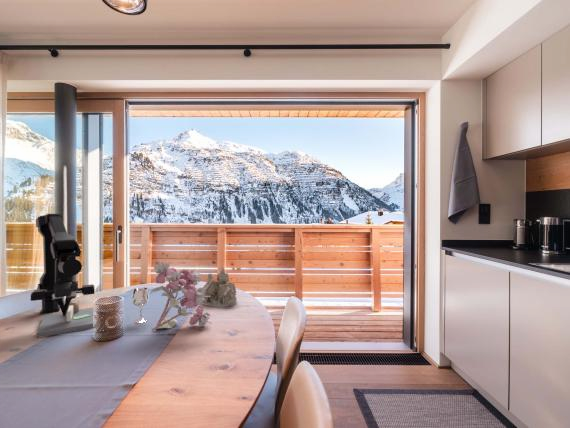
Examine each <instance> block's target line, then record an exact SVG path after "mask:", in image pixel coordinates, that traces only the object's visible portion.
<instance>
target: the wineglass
mask: <svg viewBox="0 0 570 428" xmlns="http://www.w3.org/2000/svg"><path fill="white" fill-rule="evenodd" d="M149 294H150V292H149V291H148V288H147V287H136V288H134V289H133V290H132V295H131V301H132V304H133V305H134V306H135V307H139V309H138V310H139V318H138V319H136V320H134V323H135V324H143V323H146V322H147V321H148V319H147V318H143V317H142V315H143V314H142V311H143V306H145V305H147V304H148V302H149V300H150V295H149Z"/></svg>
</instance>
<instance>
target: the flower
mask: <svg viewBox="0 0 570 428" xmlns="http://www.w3.org/2000/svg"><path fill="white" fill-rule="evenodd" d="M156 262H157V264H154V265H153V270H154V272H155V273H156V274H157V275H156V276H155V284H161V285H160V286H157V287H155V288H153V289H151V292H149V294H150V295H151V294H152V293H154V292H155V293H156V292H159V291H160V290H162V291H164V292H162V294H160V297H167V301H166V304H165V307H164V309H163V311H162V313H161V315H160V317H159V320H158V321H157V323H156V325H155V327H152V328H151V331H152V332H154V331H157V330H158V329H169V330H170V329H172V328H174V327H175V326H176V324H177V323H178V320H177V319H175V318H177V317H179V316H180V317H181V316H183V317H185V316H187V315H188V314H191V315H193V316H192V317H190V320H189V321H188V323H189V325H190V326H194V325H196V324H197V323H198V326H199V327H202V328H204V327H205V326H207V325H206V324H208V323H209V324H212V322H210V321H209V319H210V316H211V314H210V313H209V312H204V307H202V306H203V305H202V304H204V303H203V302H202V301H206V300H204V299H205V297H210V296H204V295H205V293H206V291H205V290H204V289H205V288H203V287H199V288H198V289H197V287H196V285H199V283H200V282H201V281H202V274H201V272H200V271H199V272H197V271H195V270H196V269H195V268H193V269H192V270H190V271H189V269H186V268H184V269H181V270H179V271H177V269H176V268H175V267H170V263H169V262H167V261H166V260H165V261H163V260H162V261H161V263H160V262H158V259H156ZM166 281H168V283H167V284H166V285H165V286H164V285H162V284H165V283H166ZM180 291H181V292H182V293H183V296H181V297H178V295H179V294H178V293H179V292H180ZM175 293H176V294H175ZM174 294H175V296H174ZM177 297H178V298H177ZM203 298H204V299H203ZM198 305H200V306H198ZM201 305H202V306H201ZM196 306H198V307H197V308H196V309H195V311H196V313H193V312H190V311H189V312H187V309H192V308H194V307H196ZM172 308H175V309H177V315H174V316H172V317H167V315H168V313H169V312H170V311H171V309H172Z"/></svg>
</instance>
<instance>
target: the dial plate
mask: <svg viewBox="0 0 570 428" xmlns="http://www.w3.org/2000/svg"><path fill="white" fill-rule="evenodd" d="M93 316H94V307H89V308H88V307H87V308H82V309H80V308H79V312H77V313H74V314H73V316H72V319H71V321H67V314H65V316H63V313H62V311H61V312H60V311H59V312H52V313H45V314H44V315H43V317H42V320H41V322H40V325H39V326H38V329H37V332H36V338H43V337H44V338H45V337H50V336H54V335H55V336H56V335H59V334H66V333H71V332H77V331H82V330H88V329H89V330H90V329H93Z"/></svg>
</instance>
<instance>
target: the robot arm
mask: <svg viewBox="0 0 570 428" xmlns="http://www.w3.org/2000/svg"><path fill="white" fill-rule="evenodd" d="M35 226H36V228H37V232H38V233H39V234H40V235H41V237H42V244H43V245H42V246H43V247H42V248H43V273H42V274H41V277H40V278H39V281H38V282H39V283H37V288H36V289H34V290H33V291H32V292H31V294H30V301H31V302H32V301H33V302H34V301H41V309H40V311H39V314H49V313H56V312H60V311H61V312H62V313H63V316H65V314H66V311H67V308H68V305H69V303H70V301H73V299H76V297H77V294H82V295H84V296H85V295H86V296H87V295H94V294H95V285H94V284H92V283H91V284H84V285H83V284H82V286H81V287H79V281H78V280H75V276H76V275H78V274H79V273H80V272H81V271H82V268H83V265H82V263H81V261H80V260H78V259H76V257H78V258H79V257H81V253H82V251H81V248H80V245H79V243H78V241H77V240H76V238H74V236H73V235H72V234H69V233H68V232H67V229H66V226H65V224H64V216H63V215H62V213H47V214H44V215H39V216H38V217H37V218H36V219H35ZM64 297H65V298H64Z"/></svg>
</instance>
